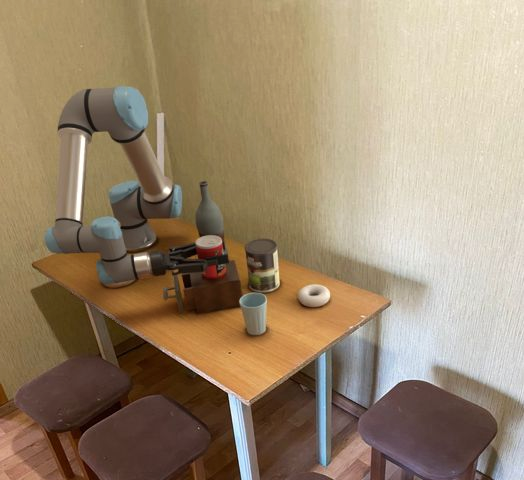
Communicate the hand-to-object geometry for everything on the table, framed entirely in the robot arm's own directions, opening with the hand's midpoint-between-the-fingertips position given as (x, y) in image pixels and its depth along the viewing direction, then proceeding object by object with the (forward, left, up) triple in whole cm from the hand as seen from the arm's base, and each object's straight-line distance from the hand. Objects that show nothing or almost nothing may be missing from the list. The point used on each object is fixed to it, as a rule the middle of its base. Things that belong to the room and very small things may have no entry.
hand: (226, 251), depth 159 cm
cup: (+20, +4, -16) cm, 26 cm away
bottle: (-22, -3, -16) cm, 28 cm away
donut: (+10, +24, -16) cm, 31 cm away
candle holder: (-24, -37, -16) cm, 47 cm away
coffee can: (-4, +11, -16) cm, 20 cm away
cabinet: (0, -5, -16) cm, 17 cm away
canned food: (0, -5, -7) cm, 8 cm away
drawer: (0, -13, -15) cm, 20 cm away
